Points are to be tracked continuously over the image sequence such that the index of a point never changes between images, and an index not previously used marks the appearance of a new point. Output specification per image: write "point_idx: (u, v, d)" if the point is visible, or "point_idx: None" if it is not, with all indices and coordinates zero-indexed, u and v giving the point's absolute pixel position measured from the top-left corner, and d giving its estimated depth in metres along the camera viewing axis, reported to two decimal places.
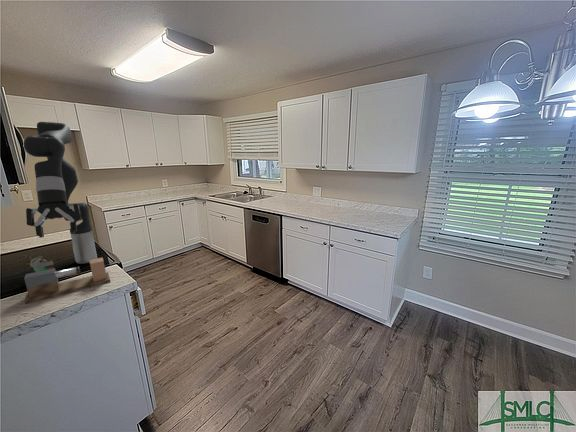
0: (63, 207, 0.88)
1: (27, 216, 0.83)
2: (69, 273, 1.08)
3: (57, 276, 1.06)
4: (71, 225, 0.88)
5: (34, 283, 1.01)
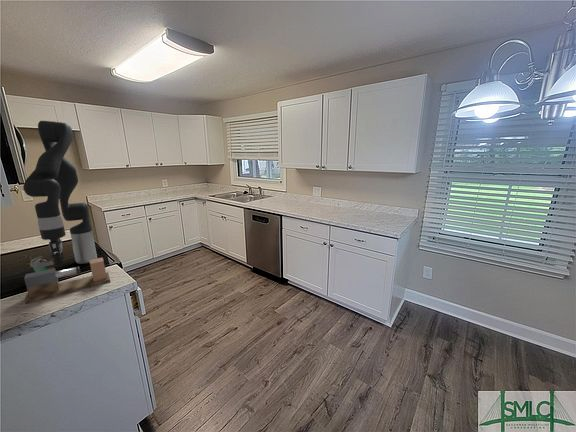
0: (51, 243, 1.01)
1: None
2: (69, 273, 1.08)
3: (57, 276, 1.06)
4: (54, 260, 1.02)
5: (34, 283, 1.01)
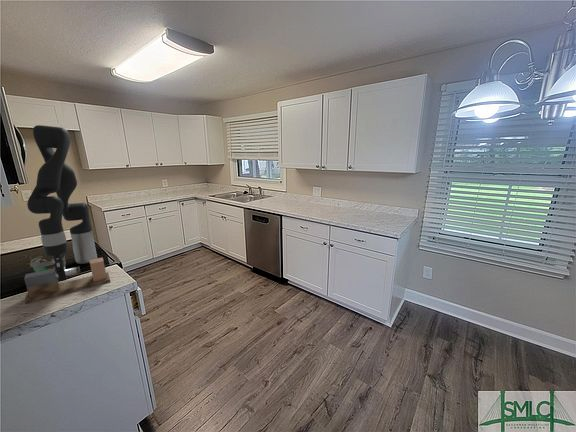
0: (54, 259, 1.03)
1: None
2: (69, 273, 1.08)
3: (57, 276, 1.06)
4: (58, 275, 1.06)
5: (34, 283, 1.01)
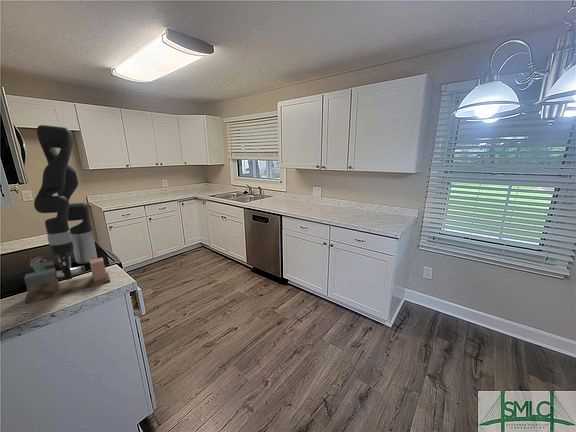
0: (60, 258, 1.04)
1: None
2: (74, 272, 1.09)
3: (63, 275, 1.07)
4: (64, 274, 1.07)
5: (34, 283, 1.01)
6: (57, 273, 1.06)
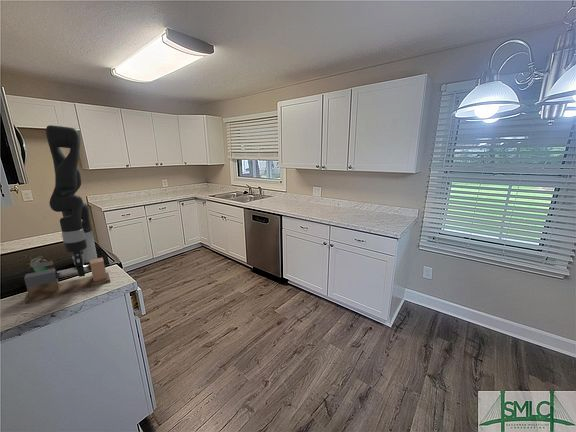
0: (74, 255, 1.07)
1: None
2: (87, 269, 1.12)
3: (76, 272, 1.10)
4: None
5: (34, 283, 1.01)
6: (71, 270, 1.09)
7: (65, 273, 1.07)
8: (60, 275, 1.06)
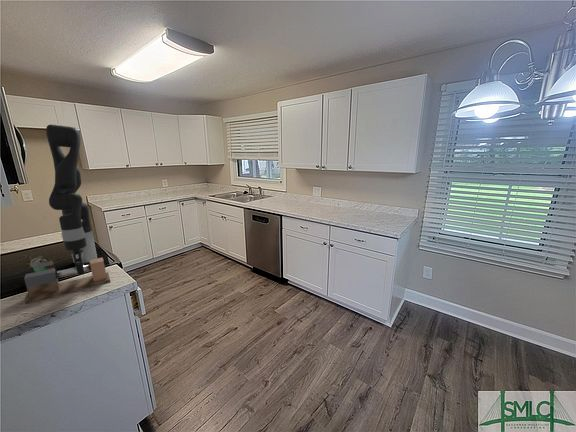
0: (73, 254, 1.07)
1: None
2: (87, 269, 1.12)
3: (76, 272, 1.10)
4: None
5: (34, 283, 1.01)
6: (71, 270, 1.09)
7: (65, 273, 1.07)
8: (60, 275, 1.06)
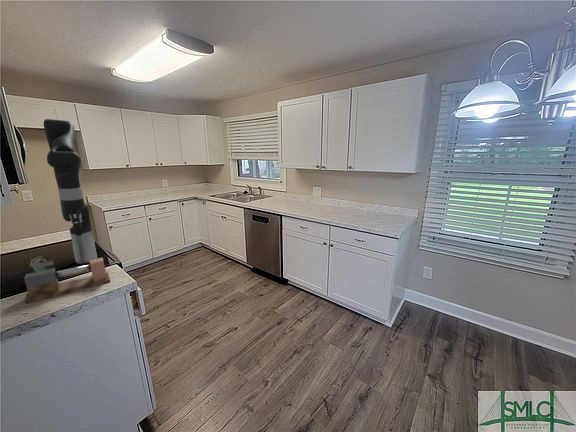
0: (71, 214, 1.06)
1: None
2: (87, 269, 1.12)
3: (76, 272, 1.10)
4: (74, 230, 1.07)
5: (34, 283, 1.01)
6: (71, 270, 1.09)
7: (65, 273, 1.07)
8: (60, 275, 1.06)
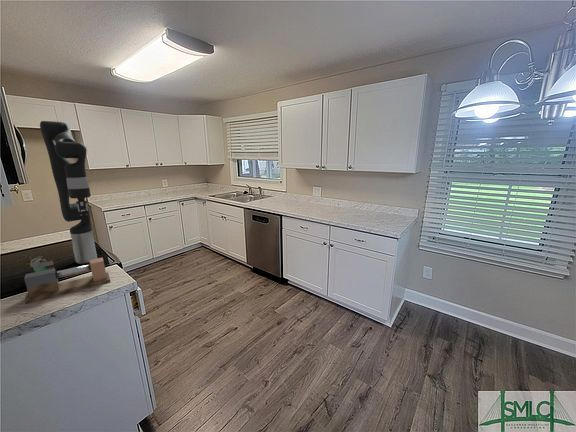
0: None
1: None
2: (87, 269, 1.12)
3: (76, 272, 1.10)
4: (81, 217, 1.11)
5: (34, 283, 1.01)
6: (71, 270, 1.09)
7: (65, 273, 1.07)
8: (60, 275, 1.06)
